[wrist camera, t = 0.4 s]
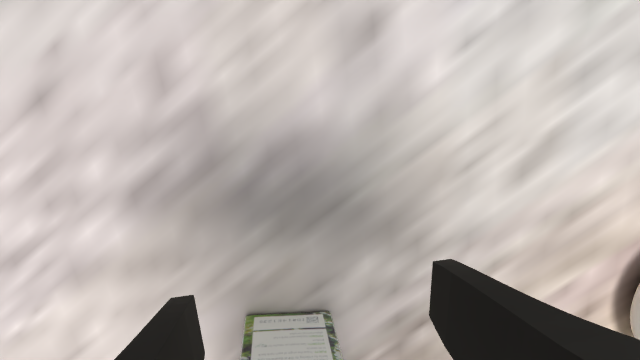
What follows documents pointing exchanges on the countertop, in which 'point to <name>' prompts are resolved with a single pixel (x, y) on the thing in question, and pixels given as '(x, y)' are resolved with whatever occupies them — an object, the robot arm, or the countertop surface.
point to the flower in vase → (635, 314)
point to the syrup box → (290, 337)
